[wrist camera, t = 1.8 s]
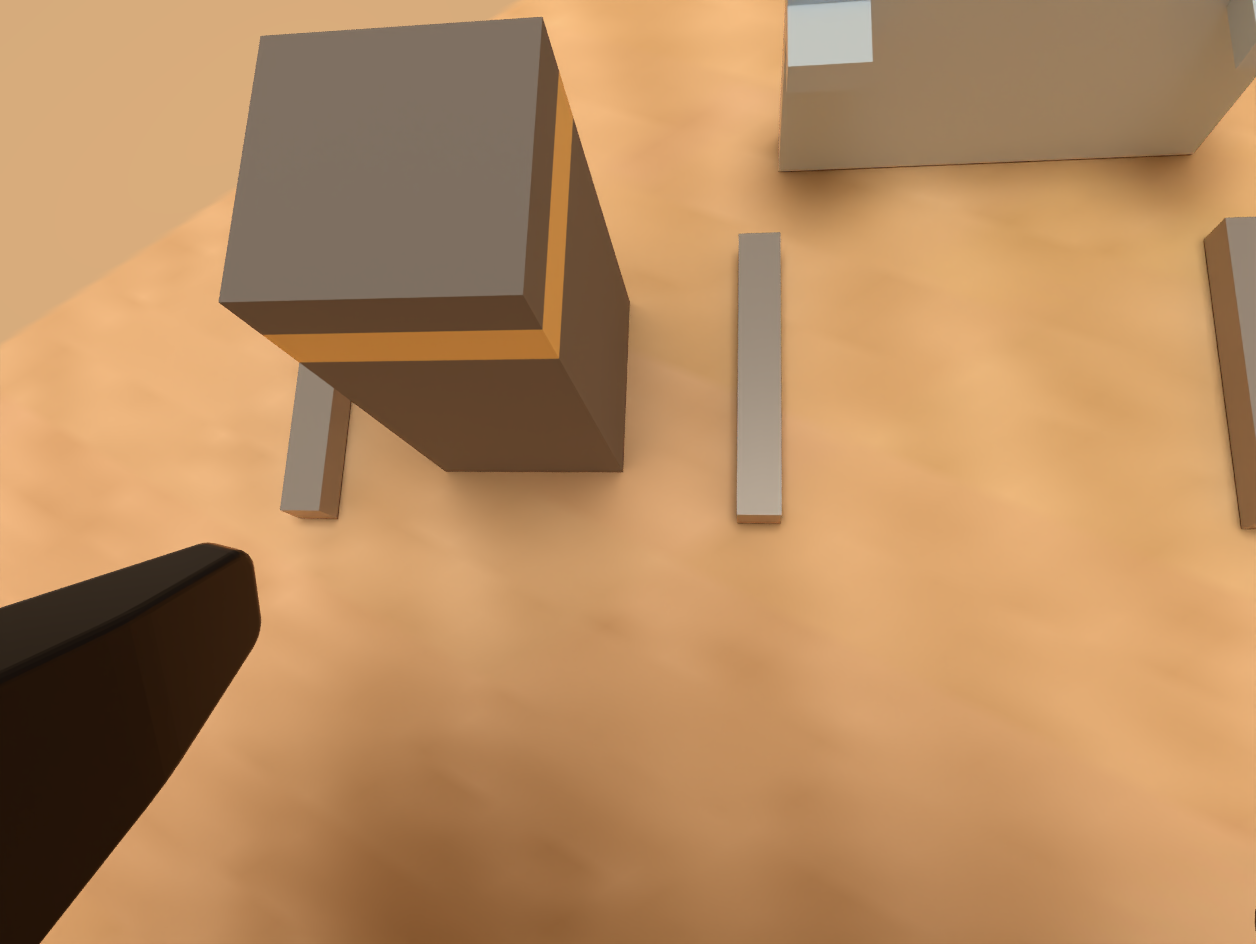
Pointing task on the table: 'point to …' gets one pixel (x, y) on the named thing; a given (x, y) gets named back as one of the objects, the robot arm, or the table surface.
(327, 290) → the grey tall block
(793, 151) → the rails
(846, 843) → the table surface
